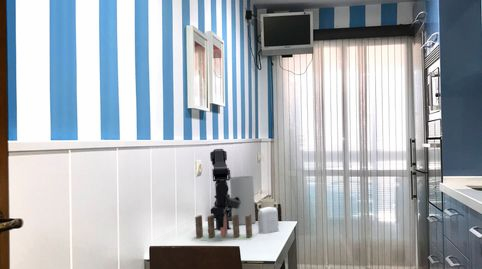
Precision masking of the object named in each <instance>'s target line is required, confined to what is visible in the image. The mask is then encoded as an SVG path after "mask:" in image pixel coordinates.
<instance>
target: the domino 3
mask: <svg viewBox="0 0 482 269" xmlns="http://www.w3.org/2000/svg"><path fill="white" fill-rule="evenodd" d="M232 218H233V223H232V232H233V234H232V235H233V236H234V238H238V237H239V236H240V234H241V233H240V232H241V231H240V225H239V215H234V216H232V215H231V219H232Z"/></svg>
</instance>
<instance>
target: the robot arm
mask: <svg viewBox="0 0 482 269" xmlns="http://www.w3.org/2000/svg"><path fill="white" fill-rule="evenodd" d="M227 153H228V152H227V151H226V150H224V148H215V149H213V150H212V151H211V152H210V153H209V155H210V156H209V158H210V162H211V165H212V167H213V168H212V169H211V170H212V181H213V182H214V187H215V188H214V189H215V195H214V199H215V200H214V203H213V204H214V206H212V207H211V209H210V215H214V219H215V231H216V230H219V231H221V228H223V225H224V216H225V215H226V219H227V230H231V229H232V227H230V220H229V218H232V209H233V208H235V209H238V208H239V206H240V204H241V201H240V198H239V197H236V198H235V199H234V198H231V194H229V189H230V187H229V185H228V181H229V182H230V179H231V170H230V168H229V167H228V165H227V162H226V161H227V159H228V156H227V155H228V154H227Z"/></svg>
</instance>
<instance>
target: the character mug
mask: <svg viewBox="0 0 482 269" xmlns="http://www.w3.org/2000/svg"><path fill="white" fill-rule="evenodd" d="M265 207H274V208H276V209H277V210H278V208H279V205H278V202H275V200H274V199H273V198H264V199H260V203H257V204H256V209H257V210H258V211H259V210H260V209H262V208H265Z"/></svg>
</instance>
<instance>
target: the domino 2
mask: <svg viewBox="0 0 482 269" xmlns="http://www.w3.org/2000/svg"><path fill="white" fill-rule="evenodd" d="M215 228H216V224H215V218H214V215H213V214H210V215H208V216H207V230H208V231H207V233H208V234H207V235H208V236H209V238H213V237H215V235H216V230H215Z"/></svg>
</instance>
